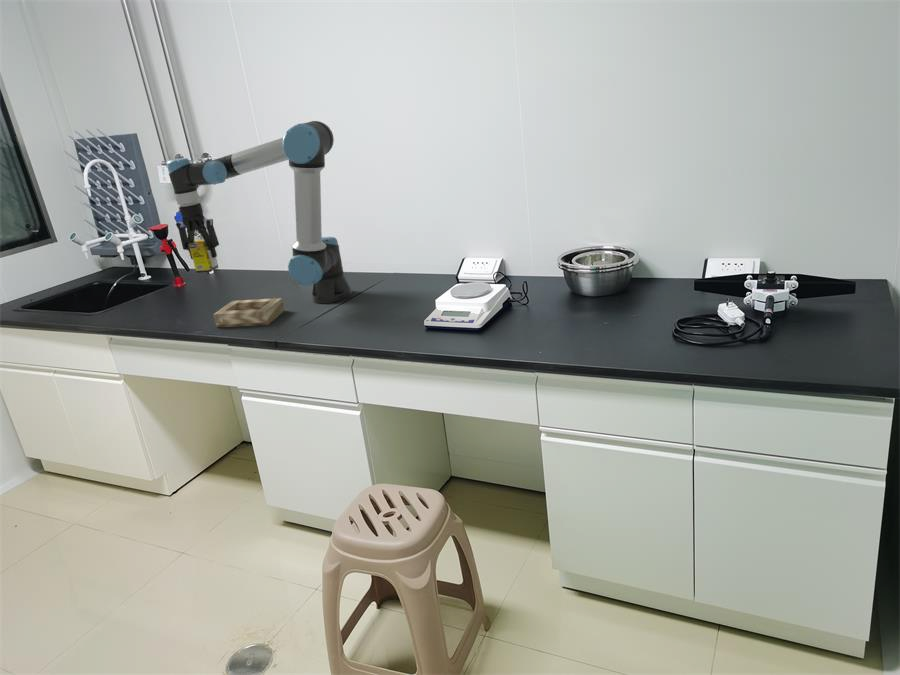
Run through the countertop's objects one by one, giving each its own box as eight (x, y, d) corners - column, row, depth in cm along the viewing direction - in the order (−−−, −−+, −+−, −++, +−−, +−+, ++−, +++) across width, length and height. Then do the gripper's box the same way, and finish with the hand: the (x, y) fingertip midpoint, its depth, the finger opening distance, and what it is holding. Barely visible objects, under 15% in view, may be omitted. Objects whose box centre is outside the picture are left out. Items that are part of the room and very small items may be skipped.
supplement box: (211, 272, 233) (202, 242, 229) (196, 273, 235) (187, 244, 230) (219, 267, 239) (211, 238, 235) (204, 268, 240) (196, 239, 236)
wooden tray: (284, 310, 237) (281, 298, 236) (268, 325, 225) (264, 311, 223) (235, 313, 242) (232, 300, 240) (216, 327, 229) (213, 314, 227)
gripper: (218, 199, 229) (234, 262, 237) (171, 204, 233) (189, 265, 242) (207, 203, 222) (224, 268, 231) (159, 208, 226) (178, 271, 235)
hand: (206, 266), depth 236 cm, fingers closed on supplement box, 6 cm apart
